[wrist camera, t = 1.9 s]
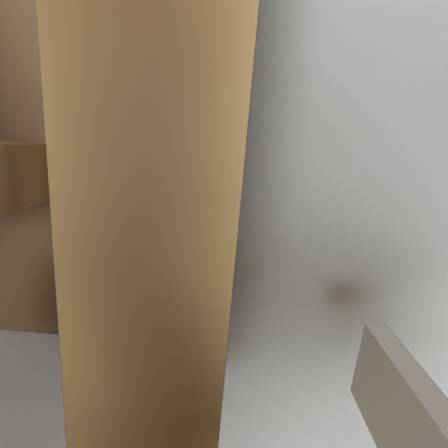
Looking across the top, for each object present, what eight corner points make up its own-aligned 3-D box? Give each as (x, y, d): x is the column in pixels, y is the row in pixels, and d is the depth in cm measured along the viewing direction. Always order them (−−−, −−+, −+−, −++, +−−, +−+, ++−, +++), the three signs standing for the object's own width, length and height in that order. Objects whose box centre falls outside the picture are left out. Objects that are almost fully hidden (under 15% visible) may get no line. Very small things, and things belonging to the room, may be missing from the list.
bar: (120, 426, 13) (73, 545, 9) (113, -197, 8) (1, -517, 4) (215, 434, 13) (207, 557, 9) (269, -186, 8) (305, -498, 4)
